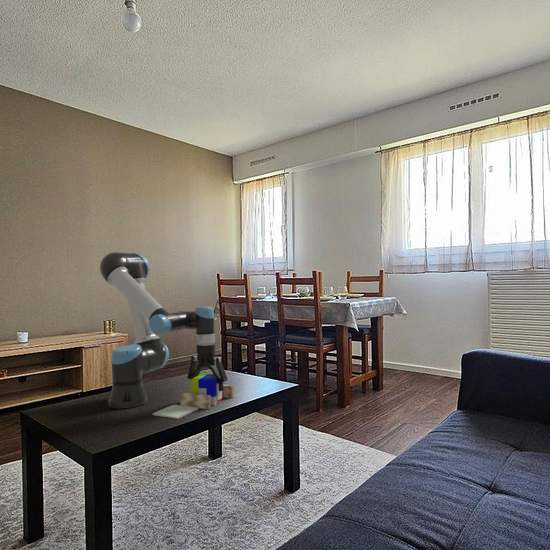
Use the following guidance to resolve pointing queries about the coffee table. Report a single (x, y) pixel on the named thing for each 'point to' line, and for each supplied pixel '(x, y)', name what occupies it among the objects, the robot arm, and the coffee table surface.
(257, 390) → the coffee table surface
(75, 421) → the coffee table surface
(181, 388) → the coffee table surface
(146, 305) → the robot arm
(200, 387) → the puzzle toy
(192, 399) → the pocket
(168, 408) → the pad
